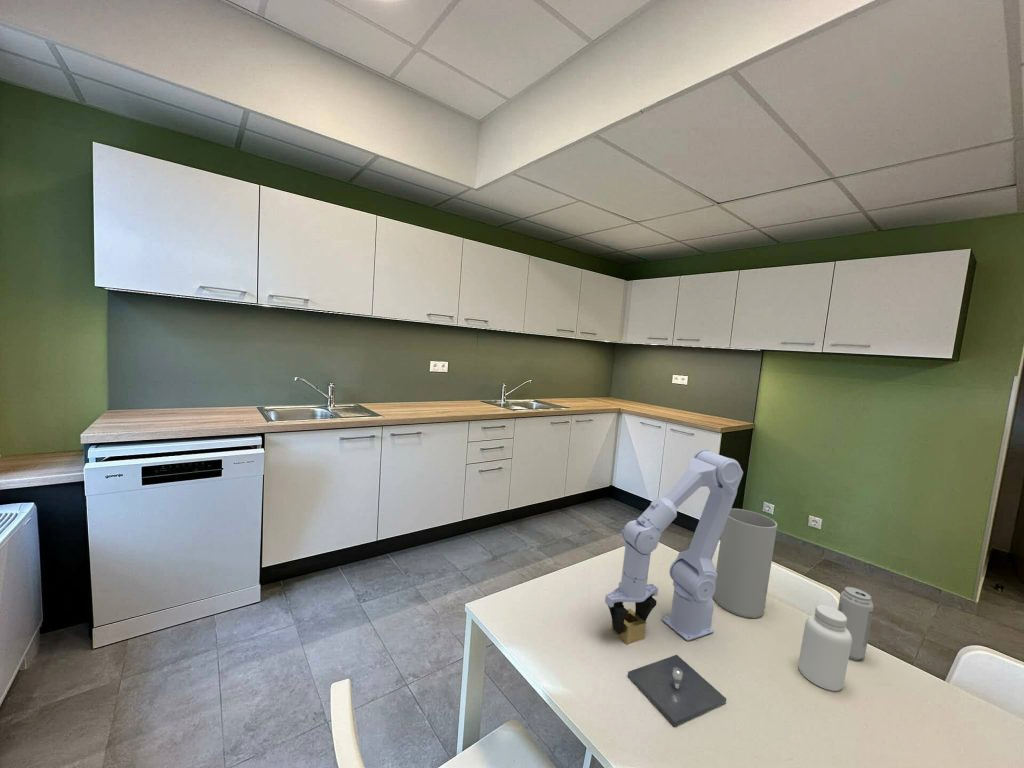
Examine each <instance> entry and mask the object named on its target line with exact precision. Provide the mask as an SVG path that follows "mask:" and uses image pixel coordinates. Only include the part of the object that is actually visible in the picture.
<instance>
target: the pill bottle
mask: <svg viewBox="0 0 1024 768" xmlns="http://www.w3.org/2000/svg"><path fill="white" fill-rule="evenodd" d="M846 624H847V617H846V616H845V615H844V614H843V613H842V612H840V611H839V610H838V608H835V607H832V606H829V605H825V604H818V605H816V606H815V610H814V614H812V615H810V616H807V618H806V619H805V623H804V629H803V635H802V638H801V639H802V641H801V645H800V651H799V657H798V663H797V664H798V670H799V672H800V673H801V674H802V675H803V676H804V678H806V679H807V680H808V681H809V682H811V683H812V684H814V685H816V686H818V687H820V688H822V689H825V690H827V691H833V692H838V691H841V690H842V689H843V687H844V685H845V679H846V676H847V674H846V673H847V671H848V665H849V660H850V658H849V655H850V649H851V644H852V637H851V634H850V632H849V631H848V630H847V629H846Z"/></svg>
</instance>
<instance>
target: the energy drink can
mask: <svg viewBox="0 0 1024 768" xmlns="http://www.w3.org/2000/svg"><path fill="white" fill-rule="evenodd" d="M837 610H839V611H840V612H842V613H843V614H844V615H845V616H846V617H847V624H846V629H847V630H848V631H849V632H850V634H851V637H852V644H851V649H850V655H849V660H850V659H851V660H853V661H860V660H861V659H864V658H865V657H866V653H867V648H868V647H867V646H868V641H869V635H870V629H871V623H872V618H873V612H874V603H873V601H872V595H870V594H869V593H867V592H866V591H864V590H861V589H859V588H857V587H851V586H846V587H844V590H842V592H841V593H840V596H839V601H838V607H837Z"/></svg>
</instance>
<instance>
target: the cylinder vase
mask: <svg viewBox="0 0 1024 768" xmlns="http://www.w3.org/2000/svg"><path fill="white" fill-rule="evenodd" d="M777 529H778V523H777V522H776V521H775V520H774V519H772V518H770V517H768V516H767V515H764V514H762V513H759V512H755V511H751V510H748V509H747V510H746V509H742V508H731V510H730V513H729V516H728V518H727V521H726V524H725V526H724V529H723V532H722V534H721V537H720V540H719V547H718V552H717V553H718V554H717V563H716V569H715V570H716V572H717V578H716V582H715V585H716V588H715V592H714V595H713V596H712V598H713V599H714V600H715V602H716V603H717V604H718V605H719V606H720V607H722V608H723V609H724V610H726V611H728V612H730V613H732V614H734V615H736V616H739V617H743V618H749V619H754V618H755V619H756V618H760V617H761V616H763V614H764V613H765V609H766V601H767V594H768V589H769V588H768V587H769V581H770V577H771V576H770V574H771V568H772V562H773V555H774V548H775V541H776V535H777Z"/></svg>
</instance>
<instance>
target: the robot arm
mask: <svg viewBox="0 0 1024 768" xmlns="http://www.w3.org/2000/svg"><path fill="white" fill-rule="evenodd" d="M743 474H744V471H743V469H742V468H741V464H740V463H739V461H737V460H736V459H734V458H731V457H727V456H723V455H722V454H721V455H720V454H718V453H715V452H713V451H710V450H709V449H706V448H705V449H700V450H697V451H696V452H695V453H694V455H693V457H691V458H690V459H689V460H688V468H687V469H686V471H685V472H684V473H683V475H682V476H681V477H680V478H679V479H678V480H677V482H676V483H675V485H674V486H672V488H671V489H670V491H668V493H667V494H666V496H665V497H657V498H655V500H652V501H651V502H650V505H649V506H648V507H647V508H646V509H645V510H644V511H643V512H642V514H640V516H638V517H637V519H634V520H630V521H628V522H627V523H626V524H625V525H624V528H623V529H622V530H621V538H622V539H623V540H624V541H623V542H624V546H623V547H625V548H624V554H623V562H622V564H623V565H622V571H621V572H622V573H621V579H620V580H621V581H620V582H618V587H617V588H615V589H613V590H612V591H611V592H610V593H607V594H605V599H604V603H605V604H606V605H607V607H608V609H609V613H610V617H611V625H612V624H613V630H614V631H615V632H616V633H617V634H621V633H622V629H623V624H624V620H625V617H626V615H627V614H628V612H629V611H628V610H627V608H626V607H625V605H624V603H634V605H635V611H634V612H635V613H636V614H637V615H638V616H639V617H640V618H641V619H643V620H644V621H645V622H646V623H647V619H648V617H649V615H650V614H651V612H652V610H653V609H654V608H655V607H657V603H658V602H657V600H656V599H655V598H654V597H657V596H658V593H659V587H657V586H656V585H655V584H653V583H651V584H648V578H649V568H650V562H651V561H650V560H651V554H652V552H653V551H654V550H655V551H656V549H657V548H658V546H659V543H660V542H659V541H660V538H661V537H662V533H663V532H664V531H665V530H666V529H667V528H668V527H669V526H670V525H671V523H672V522H673V521H674V520H675V519H676V518H677V516H678V513H677V509H678V508H679V507H680V506H681V505H682V504H683V503H684V502H686V501H687V500H688V499H689V498H690V497H691V496H692V495H693V494H695V493H696V492H697V491H698V489H700V488H701V487H707V488H708V490H709V494H708V496H707V499H706V502H705V505H704V507H703V510H702V512H701V515H700V517H699V520H698V523H697V526H696V528H695V531H694V535H693V536H692V539H691V542H690V544H689V547H688V549H687V550H684V551H680V552H678V555H677V557H676V558H675V560H674V561H673V562H672V563H671V565H670V567H669V573H668V574H669V576H670V578H671V580H672V586H673V595H672V596H673V597H672V601H671V602H672V604H671V610H670V615H668V616H665V617H662V619H661V621H662V622H664V624H666V625H667V626H668V627H670V628H671V629H672V630H673V631H675V633H677V634H678V635H679V636H680V637H681V638H682V639H684V640H685V641H688V642H689V641H692V640H694V639H697V638H700V637H704V636H707V635H709V634H712V633H714V632H715V631H714V629H713V628H712V621H713V616H714V615H713V613H714V606H715V605H714V601H713V595H714V592H715V588H716V585H715V582H716V578H717V572H716V569H715V566H714V563H713V558H714V555H715V552H716V550H717V547H718V545H719V543H720V539H721V534H722V532H723V529H724V526H725V524H726V521H727V518H728V516H729V513H730V510H731V509H733V505H734V502H735V499H736V497H737V494H738V488H739V486H740V483H741V480H742V478H743ZM653 596H654V597H653ZM613 630H612V631H613ZM614 631H613V632H614ZM615 632H614V633H615ZM616 633H615V634H616ZM617 634H616V635H617Z"/></svg>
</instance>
